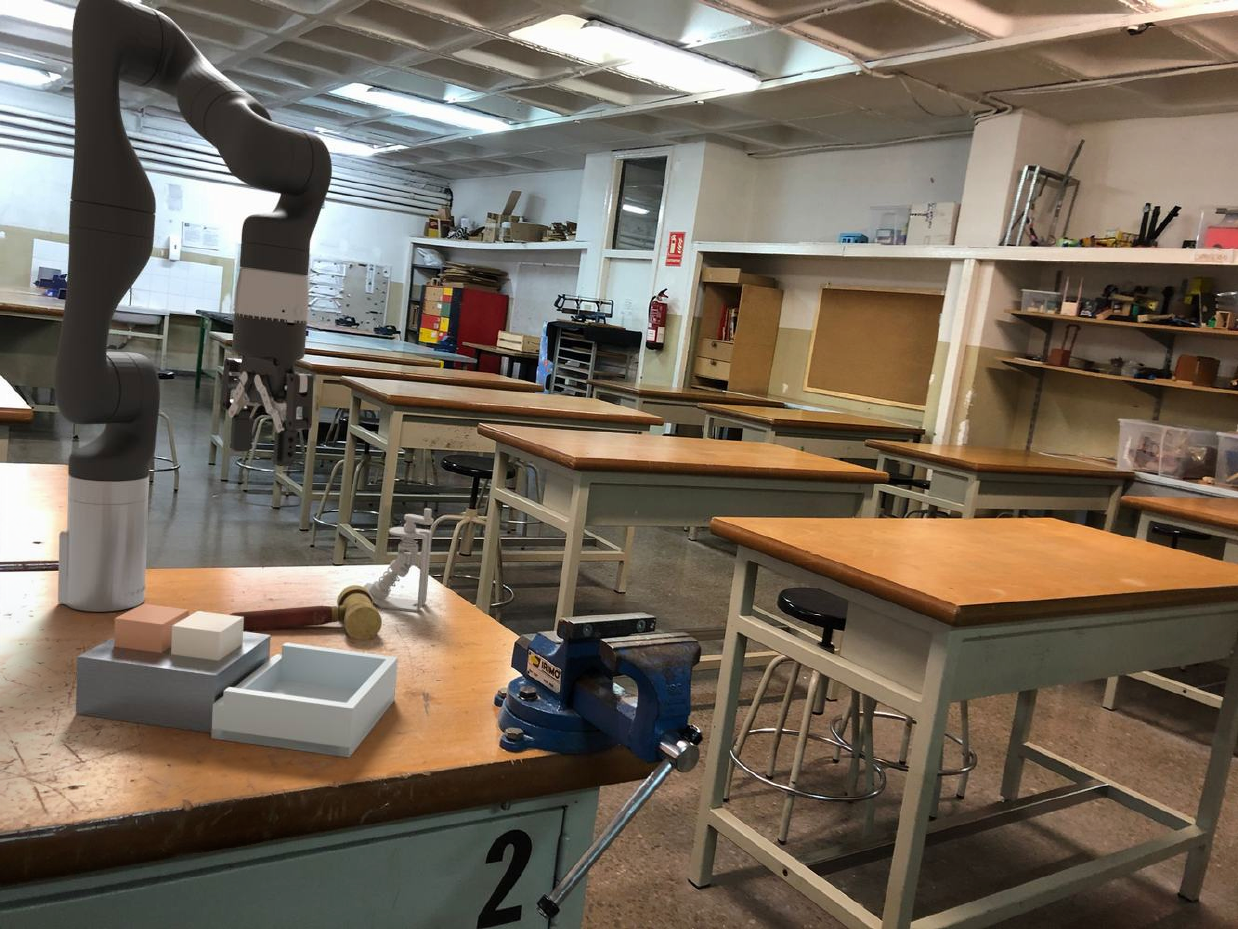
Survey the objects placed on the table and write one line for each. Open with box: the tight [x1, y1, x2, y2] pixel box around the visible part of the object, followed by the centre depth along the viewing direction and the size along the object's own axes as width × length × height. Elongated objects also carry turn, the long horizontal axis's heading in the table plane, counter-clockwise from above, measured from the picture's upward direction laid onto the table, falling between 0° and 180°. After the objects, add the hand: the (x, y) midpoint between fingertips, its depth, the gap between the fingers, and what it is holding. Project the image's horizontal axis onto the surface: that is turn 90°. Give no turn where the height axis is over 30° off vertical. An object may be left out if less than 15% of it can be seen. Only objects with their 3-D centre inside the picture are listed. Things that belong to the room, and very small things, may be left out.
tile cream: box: [171, 610, 244, 661], centre depth 95 cm, size 5×5×3 cm
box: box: [210, 642, 399, 758], centre depth 95 cm, size 14×14×5 cm
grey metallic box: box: [75, 631, 272, 734], centre depth 96 cm, size 14×12×6 cm
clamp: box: [363, 507, 434, 613], centre depth 133 cm, size 4×10×15 cm, turn 88°
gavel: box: [228, 584, 383, 640], centre depth 120 cm, size 21×5×10 cm
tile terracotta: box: [113, 603, 190, 653], centre depth 95 cm, size 5×5×3 cm
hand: (261, 457), depth 103 cm, fingers open, 8 cm apart
